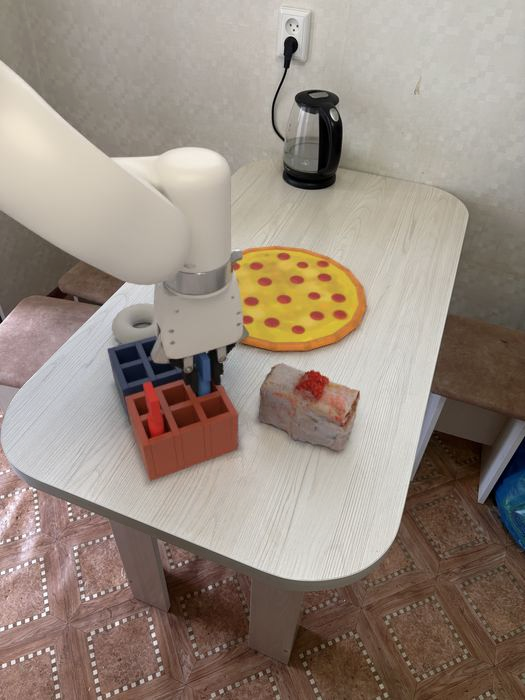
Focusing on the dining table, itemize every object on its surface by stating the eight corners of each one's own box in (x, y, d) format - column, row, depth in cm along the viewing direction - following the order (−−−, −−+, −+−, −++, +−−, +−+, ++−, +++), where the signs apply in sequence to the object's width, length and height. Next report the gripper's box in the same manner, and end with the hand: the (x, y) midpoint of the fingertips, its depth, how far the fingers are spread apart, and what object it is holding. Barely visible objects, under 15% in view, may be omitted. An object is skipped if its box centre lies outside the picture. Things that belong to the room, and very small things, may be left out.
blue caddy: (130, 425, 73) (122, 389, 67) (115, 384, 78) (106, 348, 73) (211, 399, 77) (210, 363, 72) (192, 362, 83) (189, 326, 77)
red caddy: (150, 481, 66) (142, 446, 61) (132, 432, 72) (124, 396, 67) (237, 449, 71) (238, 414, 65) (214, 405, 76) (213, 369, 71)
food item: (357, 422, 75) (369, 376, 68) (341, 463, 70) (353, 418, 63) (272, 392, 79) (276, 346, 72) (251, 429, 73) (253, 383, 67)
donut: (134, 309, 92) (101, 342, 85) (131, 293, 90) (98, 326, 83) (182, 324, 90) (153, 359, 83) (181, 308, 87) (151, 343, 80)
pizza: (249, 234, 112) (249, 230, 111) (388, 279, 102) (389, 274, 101) (163, 313, 91) (162, 308, 90) (326, 379, 81) (327, 374, 80)
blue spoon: (203, 428, 72) (199, 362, 63) (195, 412, 74) (190, 346, 65) (215, 424, 73) (212, 358, 63) (207, 408, 75) (203, 342, 65)
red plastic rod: (158, 469, 67) (146, 403, 58) (151, 450, 69) (139, 384, 60) (171, 464, 68) (162, 398, 58) (164, 446, 70) (154, 380, 60)
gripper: (249, 236, 60) (246, 348, 73) (114, 265, 55) (136, 380, 68) (278, 270, 56) (269, 383, 68) (133, 305, 50) (153, 421, 63)
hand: (203, 381), depth 68 cm, fingers closed
